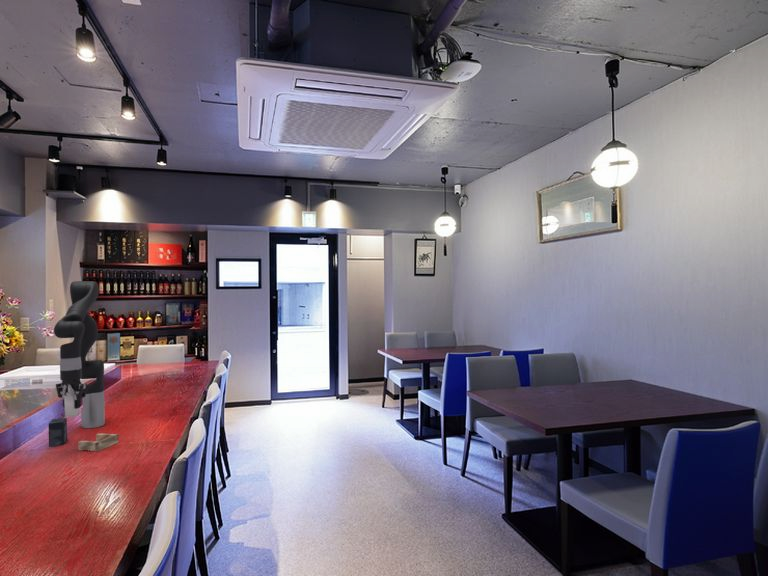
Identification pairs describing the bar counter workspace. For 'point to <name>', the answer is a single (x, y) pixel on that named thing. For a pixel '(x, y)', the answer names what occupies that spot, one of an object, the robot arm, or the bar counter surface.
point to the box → (57, 432)
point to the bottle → (70, 405)
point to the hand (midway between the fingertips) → (72, 407)
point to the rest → (99, 442)
